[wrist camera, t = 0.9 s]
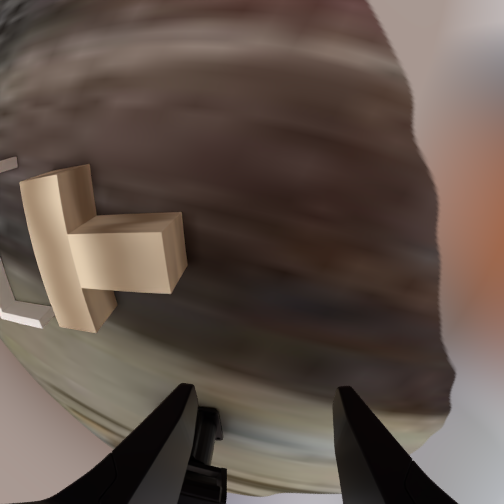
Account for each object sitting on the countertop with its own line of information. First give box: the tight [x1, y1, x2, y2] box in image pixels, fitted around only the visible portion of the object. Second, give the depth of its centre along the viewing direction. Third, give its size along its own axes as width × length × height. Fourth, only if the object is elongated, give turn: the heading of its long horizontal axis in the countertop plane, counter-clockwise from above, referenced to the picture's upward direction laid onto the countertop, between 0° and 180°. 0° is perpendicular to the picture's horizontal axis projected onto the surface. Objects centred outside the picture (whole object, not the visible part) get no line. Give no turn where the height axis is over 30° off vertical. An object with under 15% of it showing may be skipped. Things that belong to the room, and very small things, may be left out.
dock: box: [0, 156, 55, 329], centre depth 21 cm, size 16×8×2 cm, turn 1°
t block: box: [20, 164, 187, 333], centre depth 19 cm, size 11×12×4 cm
